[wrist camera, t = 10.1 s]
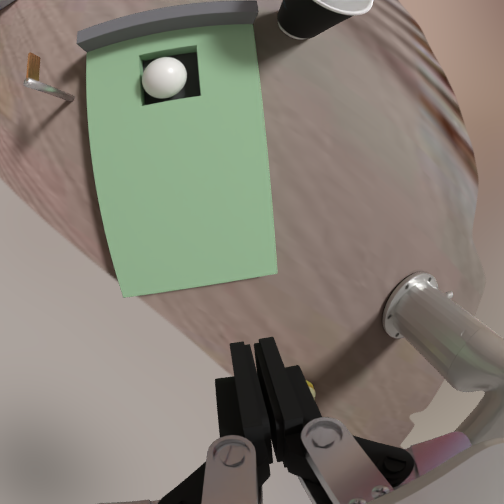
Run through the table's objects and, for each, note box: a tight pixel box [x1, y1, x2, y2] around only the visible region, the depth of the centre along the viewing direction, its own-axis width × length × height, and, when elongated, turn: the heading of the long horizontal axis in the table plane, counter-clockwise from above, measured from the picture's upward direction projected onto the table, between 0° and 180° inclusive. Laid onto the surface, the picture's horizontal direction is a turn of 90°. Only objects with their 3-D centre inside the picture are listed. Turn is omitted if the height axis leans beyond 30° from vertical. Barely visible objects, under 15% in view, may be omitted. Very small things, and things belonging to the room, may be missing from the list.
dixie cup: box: [278, 0, 373, 40], centre depth 19 cm, size 8×8×11 cm
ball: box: [142, 57, 187, 99], centre depth 22 cm, size 4×4×4 cm
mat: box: [77, 1, 277, 298], centre depth 24 cm, size 18×30×5 cm, turn 6°
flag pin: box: [24, 52, 75, 102], centre depth 17 cm, size 1×4×10 cm, turn 6°
